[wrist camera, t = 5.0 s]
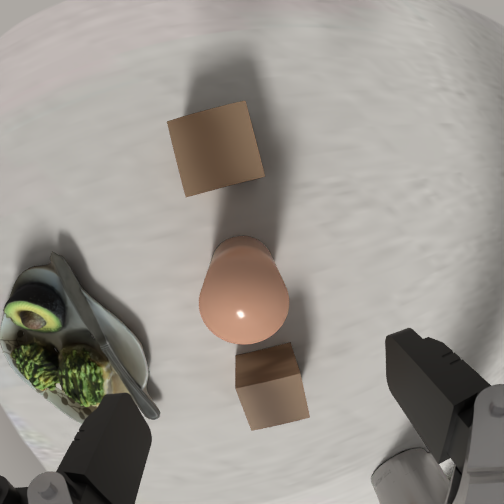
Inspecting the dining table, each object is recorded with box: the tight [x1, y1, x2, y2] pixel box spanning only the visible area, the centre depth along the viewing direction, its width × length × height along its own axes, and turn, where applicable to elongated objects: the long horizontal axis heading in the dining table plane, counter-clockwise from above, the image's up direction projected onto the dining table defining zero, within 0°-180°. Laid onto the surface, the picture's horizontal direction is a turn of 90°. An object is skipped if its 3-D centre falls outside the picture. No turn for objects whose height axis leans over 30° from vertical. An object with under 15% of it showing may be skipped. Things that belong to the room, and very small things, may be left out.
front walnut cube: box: [167, 101, 265, 197], centre depth 20 cm, size 5×5×5 cm
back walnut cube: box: [235, 342, 310, 430], centre depth 25 cm, size 5×5×5 cm
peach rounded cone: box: [199, 236, 289, 344], centre depth 21 cm, size 5×5×8 cm
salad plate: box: [0, 251, 160, 424], centre depth 24 cm, size 19×18×5 cm
